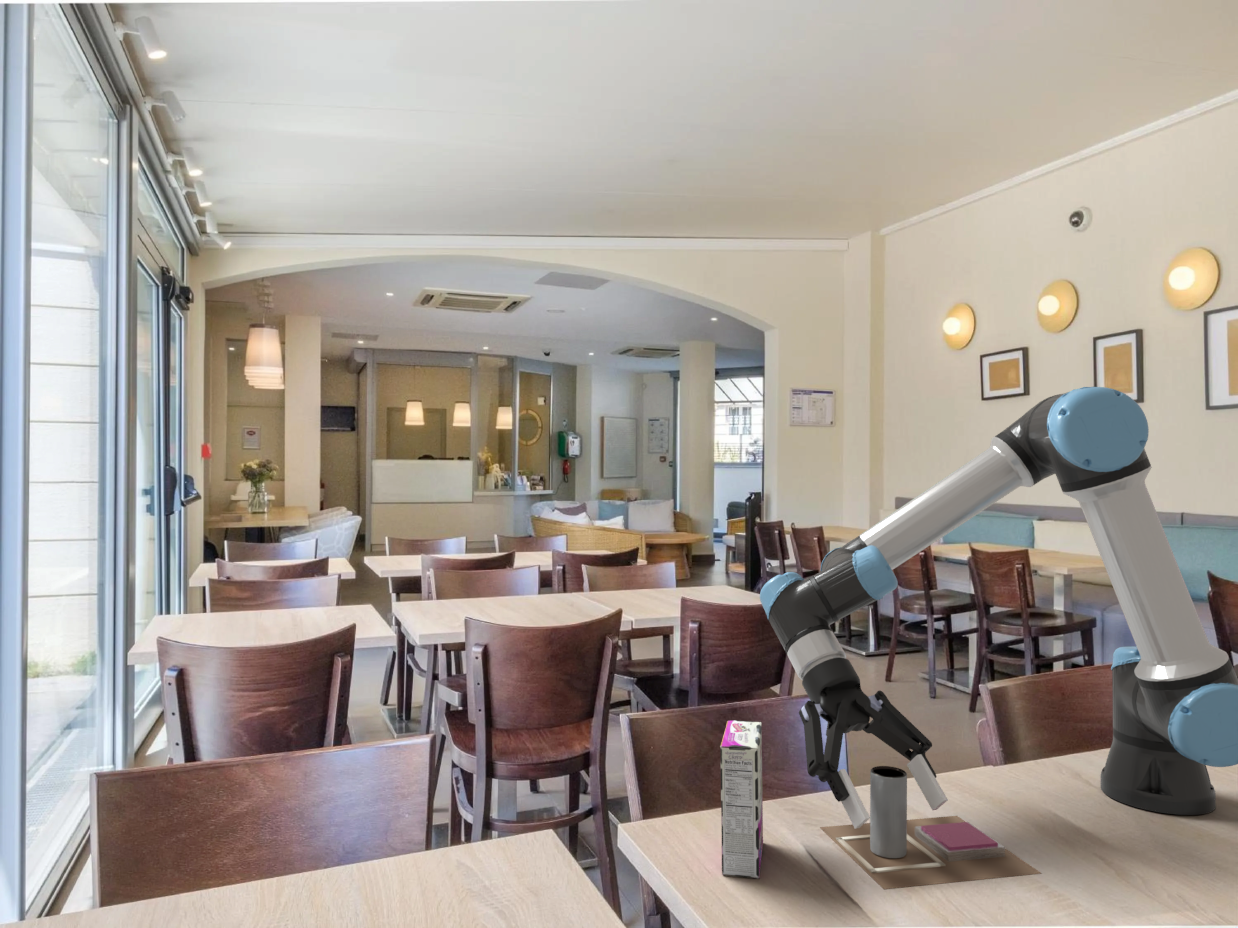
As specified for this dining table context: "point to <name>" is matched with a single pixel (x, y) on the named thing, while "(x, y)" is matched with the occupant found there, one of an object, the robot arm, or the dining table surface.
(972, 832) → the ink pad
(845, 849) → the walnut board
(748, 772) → the candy bar box
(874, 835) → the gray cylinder
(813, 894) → the dining table surface
